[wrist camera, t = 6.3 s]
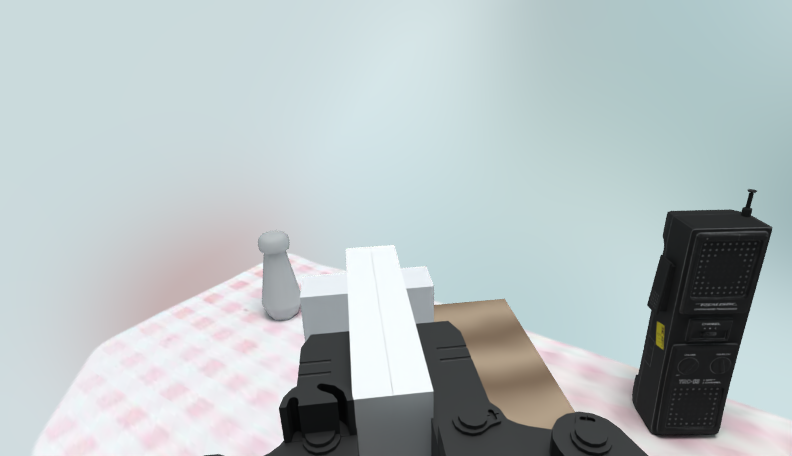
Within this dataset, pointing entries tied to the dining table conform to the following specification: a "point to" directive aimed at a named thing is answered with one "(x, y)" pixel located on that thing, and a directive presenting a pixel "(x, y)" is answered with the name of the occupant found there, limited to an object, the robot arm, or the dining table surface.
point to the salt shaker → (278, 277)
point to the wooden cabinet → (507, 362)
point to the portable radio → (698, 317)
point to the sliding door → (330, 300)
